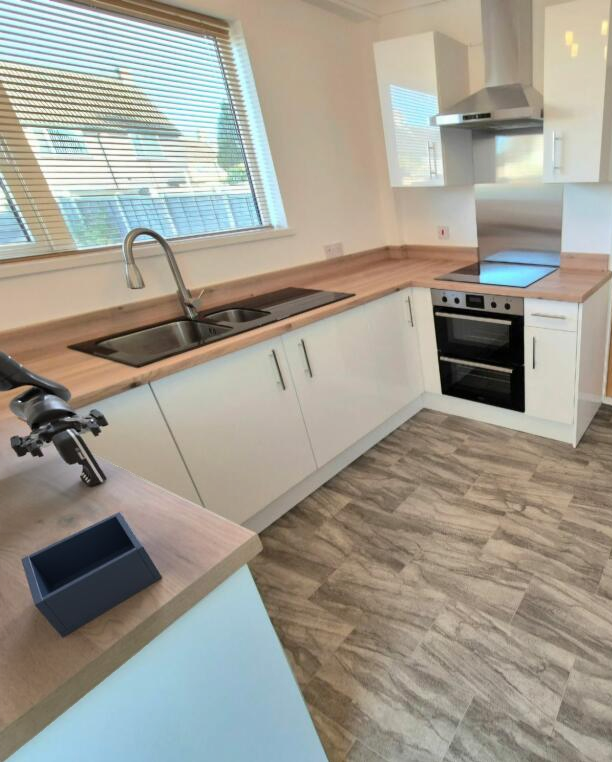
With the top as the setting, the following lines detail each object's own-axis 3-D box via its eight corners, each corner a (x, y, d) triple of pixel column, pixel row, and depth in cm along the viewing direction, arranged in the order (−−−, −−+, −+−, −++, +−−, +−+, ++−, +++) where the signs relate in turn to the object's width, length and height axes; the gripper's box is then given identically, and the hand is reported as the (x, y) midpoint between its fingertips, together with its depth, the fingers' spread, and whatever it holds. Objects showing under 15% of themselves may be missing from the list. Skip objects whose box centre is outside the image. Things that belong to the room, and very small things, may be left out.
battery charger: (75, 479, 90) (46, 434, 85) (98, 469, 93) (71, 425, 88) (85, 491, 86) (54, 444, 81) (108, 480, 89) (80, 435, 84)
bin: (62, 637, 58) (34, 605, 55) (46, 590, 65) (20, 559, 62) (162, 577, 66) (143, 546, 63) (138, 541, 73) (120, 511, 70)
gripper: (101, 419, 102) (120, 440, 93) (17, 449, 92) (29, 475, 83) (86, 391, 99) (103, 411, 90) (-3, 419, 89) (6, 444, 80)
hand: (67, 442), depth 86 cm, fingers open, 8 cm apart
